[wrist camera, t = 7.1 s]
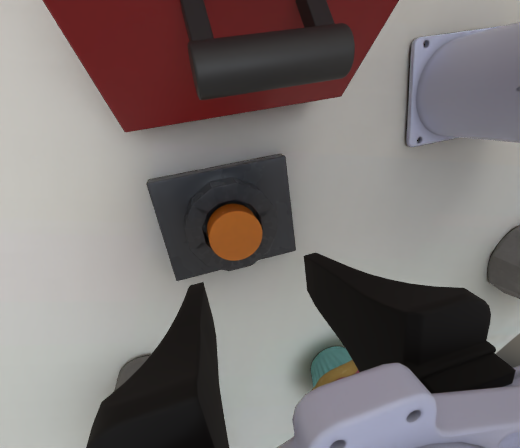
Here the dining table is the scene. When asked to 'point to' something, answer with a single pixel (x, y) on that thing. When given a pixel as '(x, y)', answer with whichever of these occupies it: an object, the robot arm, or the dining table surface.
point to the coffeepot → (506, 264)
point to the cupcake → (332, 366)
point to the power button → (234, 232)
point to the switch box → (213, 197)
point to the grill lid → (217, 53)
